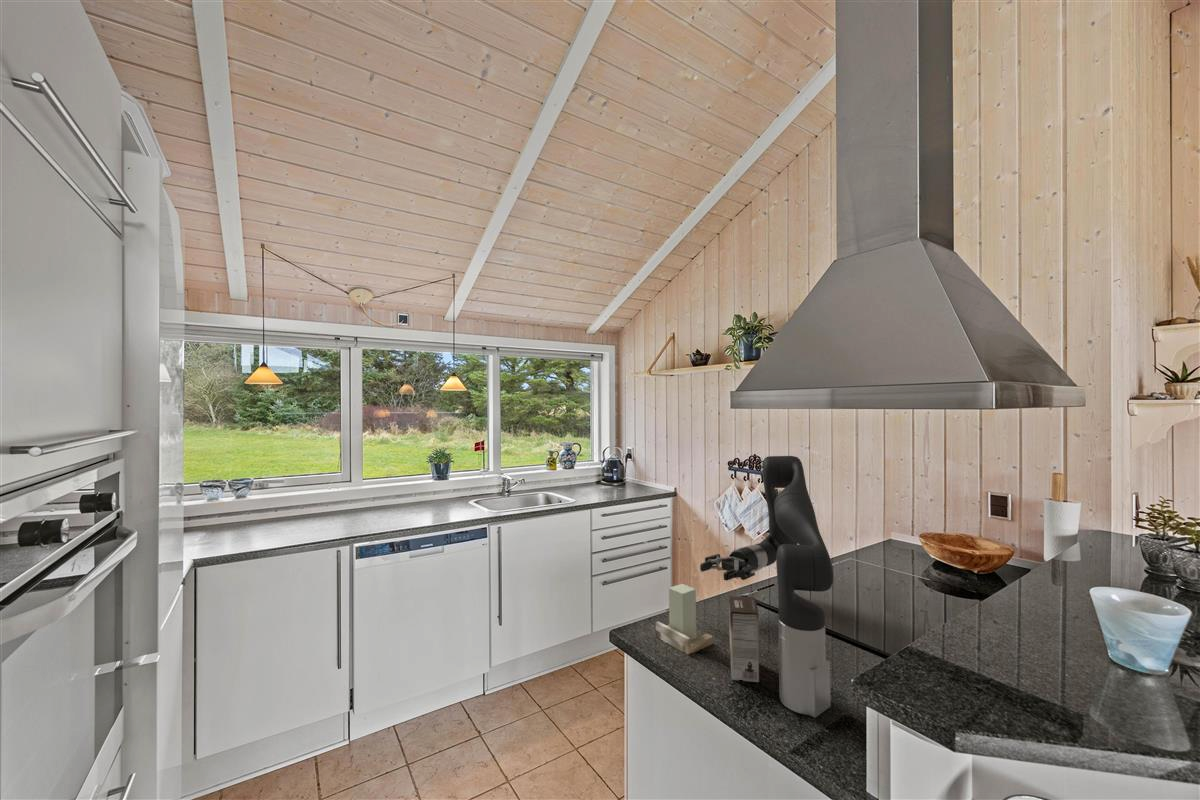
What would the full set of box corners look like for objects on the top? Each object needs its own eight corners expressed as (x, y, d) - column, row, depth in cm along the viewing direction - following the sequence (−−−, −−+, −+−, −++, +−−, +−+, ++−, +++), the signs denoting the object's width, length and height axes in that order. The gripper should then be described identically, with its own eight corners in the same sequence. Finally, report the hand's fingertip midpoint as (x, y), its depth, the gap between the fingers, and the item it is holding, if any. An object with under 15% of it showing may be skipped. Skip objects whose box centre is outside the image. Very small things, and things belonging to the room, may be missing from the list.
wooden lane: (712, 643, 129) (712, 628, 129) (688, 655, 124) (688, 639, 124) (680, 627, 139) (679, 612, 139) (655, 636, 134) (655, 622, 134)
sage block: (696, 641, 131) (695, 589, 131) (683, 647, 128) (682, 593, 128) (682, 634, 135) (682, 583, 135) (669, 640, 132) (668, 588, 132)
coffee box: (729, 659, 122) (728, 594, 122) (756, 661, 120) (755, 596, 120) (731, 680, 113) (730, 610, 113) (760, 683, 111) (759, 612, 111)
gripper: (729, 541, 154) (693, 552, 144) (769, 553, 142) (732, 566, 133) (729, 565, 154) (693, 577, 144) (769, 579, 142) (733, 593, 133)
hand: (712, 572), depth 139 cm, fingers open, 8 cm apart
